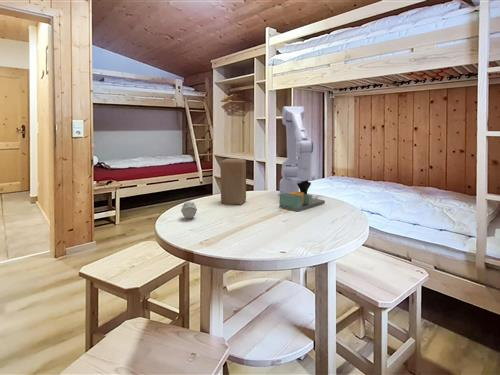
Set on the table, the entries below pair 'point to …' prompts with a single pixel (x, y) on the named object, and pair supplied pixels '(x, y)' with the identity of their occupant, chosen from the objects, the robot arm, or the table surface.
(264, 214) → the table surface
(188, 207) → the grey rounded lump
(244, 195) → the block
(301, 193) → the orange cube
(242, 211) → the table surface
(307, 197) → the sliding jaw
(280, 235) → the table surface
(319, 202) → the base
